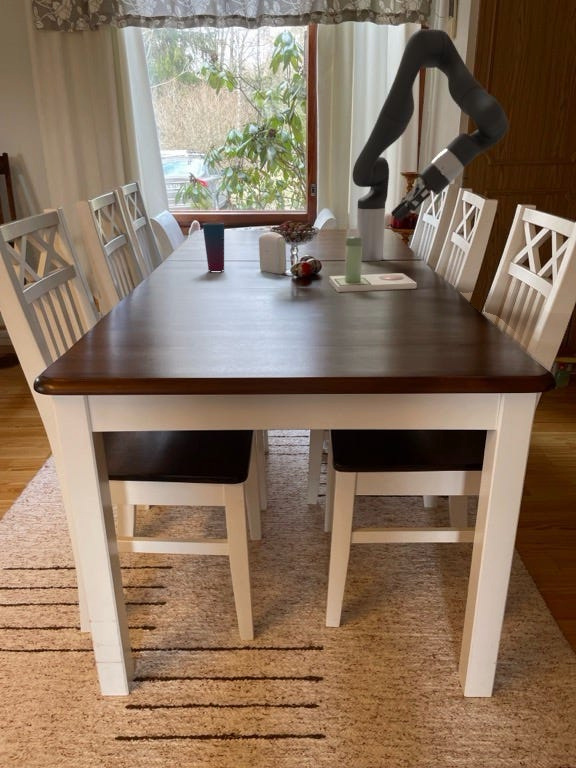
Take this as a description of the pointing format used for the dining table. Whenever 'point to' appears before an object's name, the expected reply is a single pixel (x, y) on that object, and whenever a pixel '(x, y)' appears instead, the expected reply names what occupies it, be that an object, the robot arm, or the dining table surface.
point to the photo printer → (272, 252)
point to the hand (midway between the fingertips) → (394, 217)
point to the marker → (353, 259)
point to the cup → (214, 245)
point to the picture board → (374, 282)
